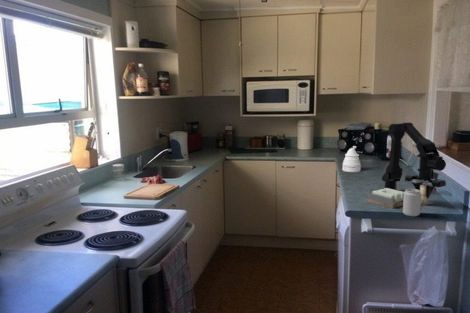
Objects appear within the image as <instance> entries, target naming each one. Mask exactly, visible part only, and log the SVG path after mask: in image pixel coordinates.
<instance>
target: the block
mask: <svg viewBox="0 0 470 313" xmlns="http://www.w3.org/2000/svg"><path fill="white" fill-rule="evenodd" d="M404 192H405V191H401V190H398V189H396V190H393V189H389V188H385V187H384V188H383V189H382V188H381V189H377V190H372V192H371V193H373V194H377V195H381V196H385V197H389V198H393V199H395V202H399V201H403V199H404Z"/></svg>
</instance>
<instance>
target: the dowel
mask: <svg viewBox="0 0 470 313" xmlns="http://www.w3.org/2000/svg"><path fill="white" fill-rule="evenodd" d="M427 185H428V184H422V185H420V193H421V206H428V205H429V198H427V195H426V186H427Z"/></svg>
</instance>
